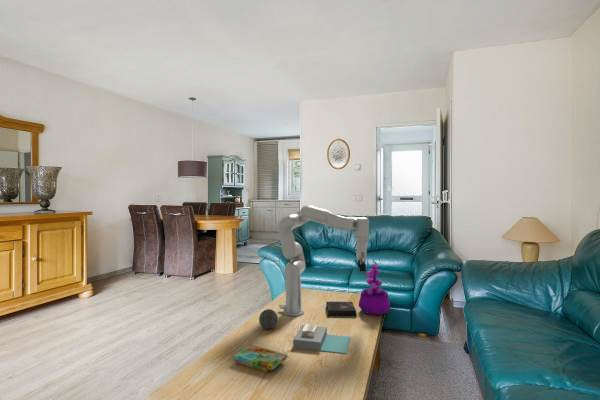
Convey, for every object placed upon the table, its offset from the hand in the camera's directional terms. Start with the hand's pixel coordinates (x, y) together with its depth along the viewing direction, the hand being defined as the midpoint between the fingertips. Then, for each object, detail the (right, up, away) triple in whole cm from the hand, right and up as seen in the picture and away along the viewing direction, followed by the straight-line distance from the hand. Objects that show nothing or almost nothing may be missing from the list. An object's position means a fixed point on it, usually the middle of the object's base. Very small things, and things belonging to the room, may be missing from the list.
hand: (361, 269), depth 187 cm
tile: (-30, -26, -25) cm, 47 cm away
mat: (-18, -30, -28) cm, 45 cm away
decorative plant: (+10, -30, +14) cm, 35 cm away
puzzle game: (-52, -31, -47) cm, 76 cm away
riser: (-30, -30, -25) cm, 49 cm away
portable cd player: (-10, -30, +16) cm, 36 cm away
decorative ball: (-52, -30, -10) cm, 61 cm away
